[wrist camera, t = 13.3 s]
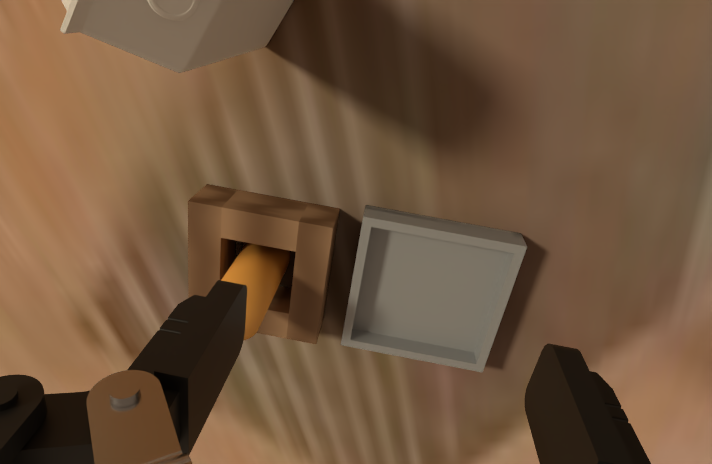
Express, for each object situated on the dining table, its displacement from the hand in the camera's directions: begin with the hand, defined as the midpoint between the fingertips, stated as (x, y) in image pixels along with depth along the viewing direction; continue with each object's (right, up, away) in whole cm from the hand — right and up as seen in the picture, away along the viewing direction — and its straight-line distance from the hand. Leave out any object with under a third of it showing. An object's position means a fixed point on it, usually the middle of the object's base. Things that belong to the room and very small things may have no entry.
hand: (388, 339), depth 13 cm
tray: (+6, -2, +32) cm, 32 cm away
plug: (-9, +1, +32) cm, 33 cm away
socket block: (-9, +1, +32) cm, 33 cm away
